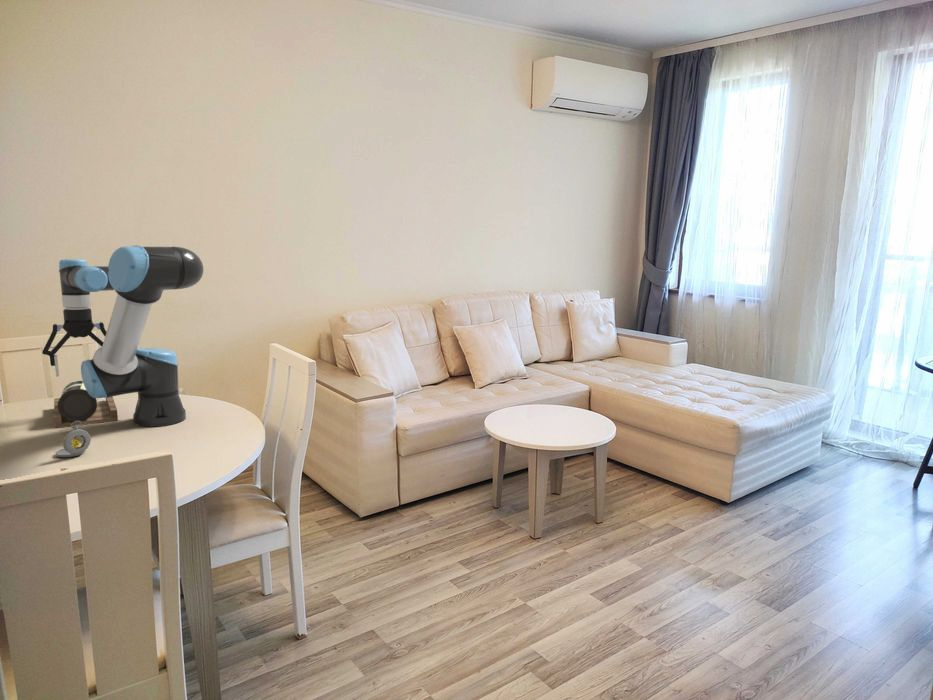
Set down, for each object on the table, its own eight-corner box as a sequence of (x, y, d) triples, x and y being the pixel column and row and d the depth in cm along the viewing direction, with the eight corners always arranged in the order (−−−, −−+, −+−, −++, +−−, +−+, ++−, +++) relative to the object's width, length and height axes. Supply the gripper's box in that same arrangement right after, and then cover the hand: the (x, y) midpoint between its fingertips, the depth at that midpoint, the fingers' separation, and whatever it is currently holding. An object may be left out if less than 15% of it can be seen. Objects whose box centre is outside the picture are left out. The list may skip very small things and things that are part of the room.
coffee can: (58, 408, 196) (54, 419, 183) (65, 377, 195) (61, 386, 183) (95, 412, 201) (93, 423, 189) (102, 382, 200) (100, 391, 188)
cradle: (55, 408, 203) (54, 398, 202) (112, 402, 212) (111, 393, 211) (55, 427, 183) (54, 416, 183) (117, 420, 192) (117, 409, 192)
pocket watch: (64, 450, 165) (61, 414, 163) (97, 450, 166) (94, 415, 164) (47, 460, 157) (43, 423, 155) (80, 460, 158) (77, 424, 156)
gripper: (121, 305, 201) (125, 368, 205) (29, 308, 188) (36, 375, 191) (123, 307, 195) (127, 371, 199) (28, 310, 182) (35, 379, 185)
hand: (82, 373), depth 195 cm, fingers open, 13 cm apart
